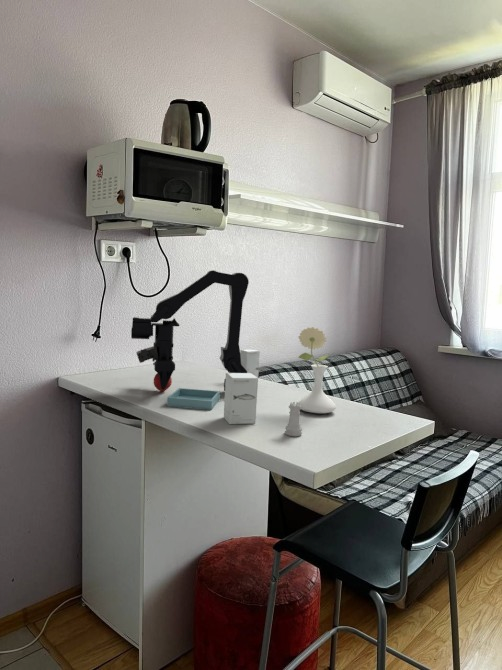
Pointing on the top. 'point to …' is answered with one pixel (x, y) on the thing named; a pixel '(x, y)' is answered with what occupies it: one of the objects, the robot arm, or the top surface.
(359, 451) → the top surface
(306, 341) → the flower in vase
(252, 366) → the skincare box
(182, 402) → the tray
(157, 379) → the onion
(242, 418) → the supplement box
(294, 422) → the rook chess piece
